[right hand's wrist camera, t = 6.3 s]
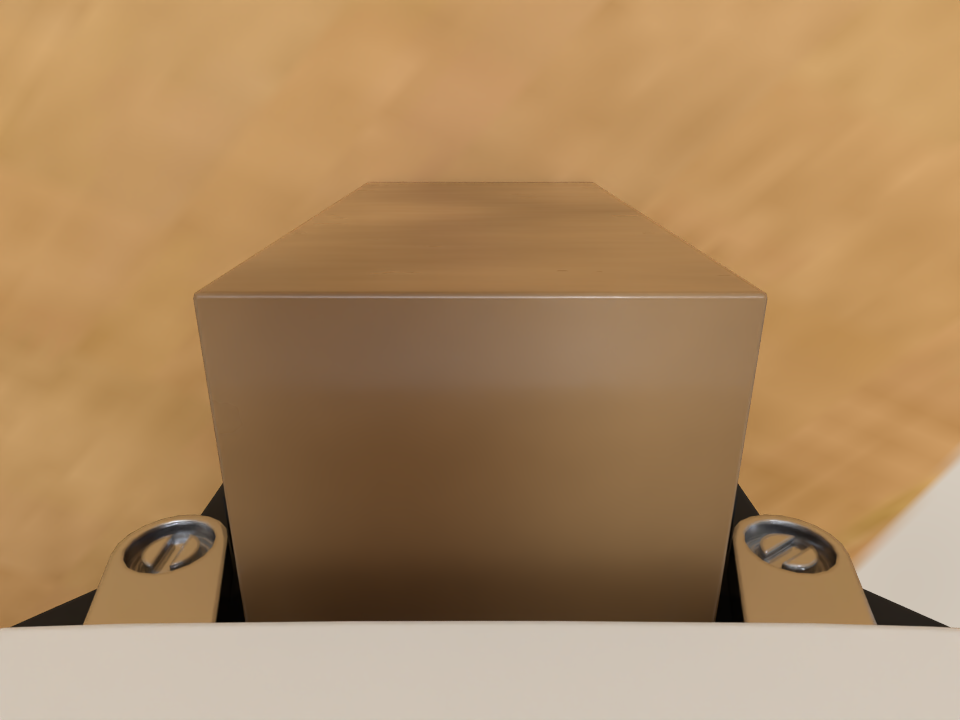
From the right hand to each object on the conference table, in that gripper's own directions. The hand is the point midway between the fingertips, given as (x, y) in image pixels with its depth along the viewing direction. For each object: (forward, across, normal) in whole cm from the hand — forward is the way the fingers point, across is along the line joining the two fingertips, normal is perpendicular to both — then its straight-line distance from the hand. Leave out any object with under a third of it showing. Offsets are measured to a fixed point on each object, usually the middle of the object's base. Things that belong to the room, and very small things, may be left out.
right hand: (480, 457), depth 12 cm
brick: (+4, 0, 0) cm, 4 cm away
